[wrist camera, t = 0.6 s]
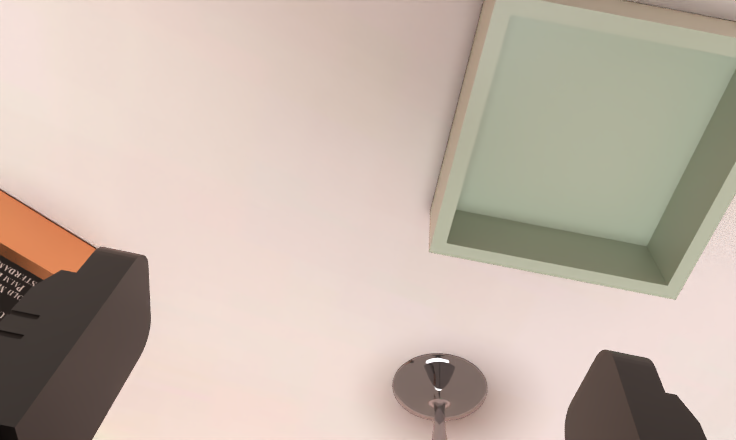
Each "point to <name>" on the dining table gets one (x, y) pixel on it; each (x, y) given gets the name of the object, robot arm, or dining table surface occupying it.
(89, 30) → the dining table surface
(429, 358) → the wine glass
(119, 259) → the robot arm
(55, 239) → the whiskey bottle
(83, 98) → the dining table surface
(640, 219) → the caddy
